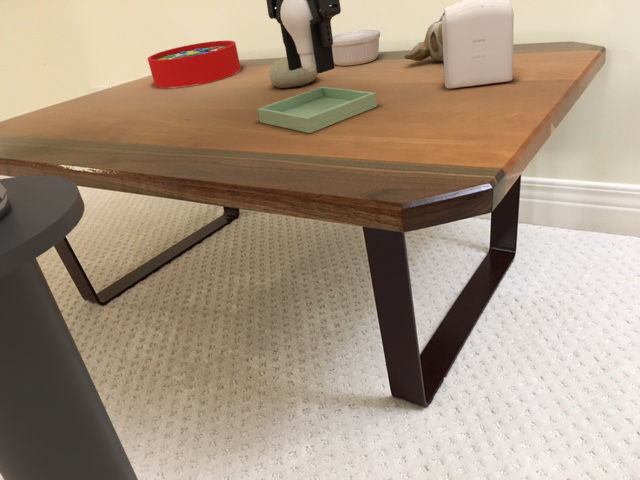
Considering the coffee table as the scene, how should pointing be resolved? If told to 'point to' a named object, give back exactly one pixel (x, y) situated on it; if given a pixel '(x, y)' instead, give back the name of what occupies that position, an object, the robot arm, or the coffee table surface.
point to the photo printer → (477, 43)
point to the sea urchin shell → (290, 75)
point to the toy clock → (194, 64)
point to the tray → (317, 108)
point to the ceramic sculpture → (429, 44)
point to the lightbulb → (299, 29)
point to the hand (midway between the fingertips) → (311, 69)
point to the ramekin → (355, 47)
